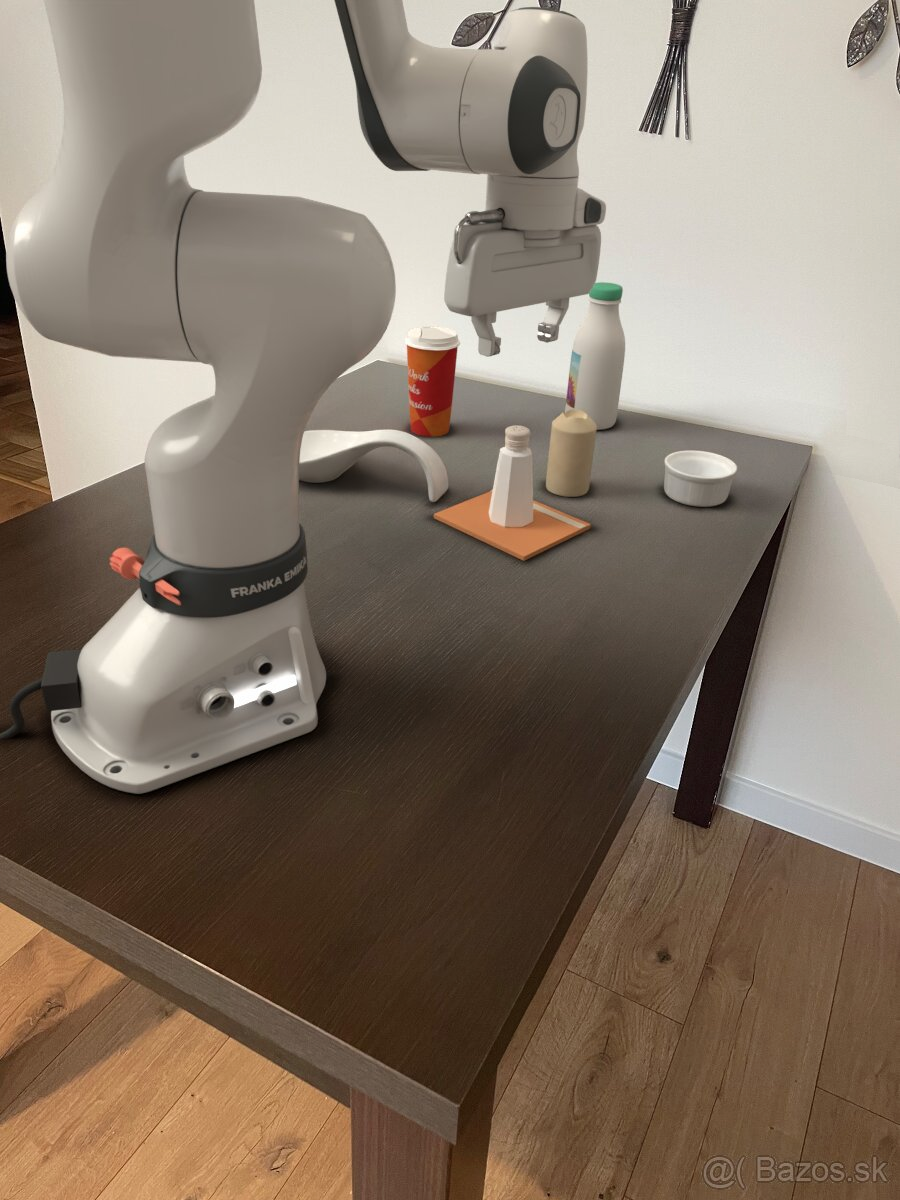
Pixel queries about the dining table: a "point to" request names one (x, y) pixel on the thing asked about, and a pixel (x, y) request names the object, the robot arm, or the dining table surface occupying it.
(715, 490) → the ramekin
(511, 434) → the pepper shaker
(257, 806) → the dining table surface
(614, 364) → the milk bottle
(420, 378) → the paper cup
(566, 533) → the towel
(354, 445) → the spoon rest
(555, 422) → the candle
